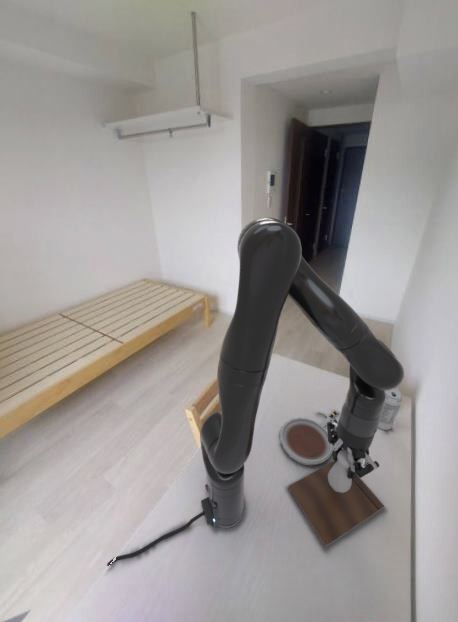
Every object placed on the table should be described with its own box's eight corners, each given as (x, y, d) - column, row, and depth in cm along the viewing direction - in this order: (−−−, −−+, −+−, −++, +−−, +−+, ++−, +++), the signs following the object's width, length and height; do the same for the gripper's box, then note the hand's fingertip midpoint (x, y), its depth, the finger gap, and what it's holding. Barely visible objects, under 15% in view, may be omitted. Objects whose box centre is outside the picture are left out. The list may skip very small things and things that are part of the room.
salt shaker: (344, 473, 75) (354, 444, 68) (353, 495, 70) (365, 466, 63) (323, 474, 74) (331, 444, 68) (330, 496, 69) (340, 467, 63)
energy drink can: (388, 418, 98) (400, 388, 90) (393, 433, 92) (406, 401, 85) (370, 415, 99) (381, 385, 92) (374, 429, 94) (385, 398, 87)
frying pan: (360, 422, 94) (313, 473, 78) (358, 428, 95) (311, 479, 79) (318, 394, 105) (269, 434, 89) (316, 400, 106) (268, 440, 91)
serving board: (325, 548, 65) (326, 545, 64) (288, 488, 77) (288, 485, 76) (383, 509, 72) (384, 505, 71) (341, 460, 84) (342, 456, 83)
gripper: (322, 404, 64) (312, 449, 72) (373, 455, 53) (354, 502, 61) (345, 394, 67) (334, 439, 75) (399, 440, 55) (378, 487, 64)
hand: (343, 467), depth 68 cm, fingers closed on salt shaker, 4 cm apart
